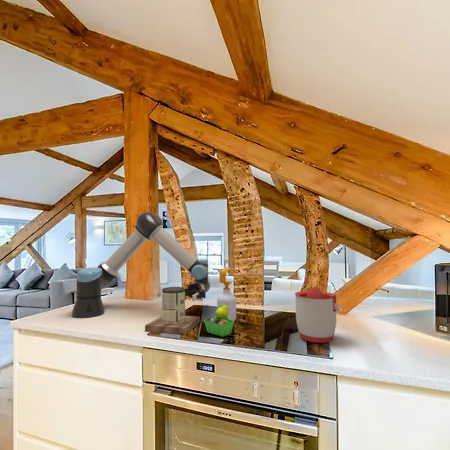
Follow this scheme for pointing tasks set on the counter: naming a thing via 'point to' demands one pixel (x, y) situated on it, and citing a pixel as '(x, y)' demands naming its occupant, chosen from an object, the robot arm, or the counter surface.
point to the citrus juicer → (316, 315)
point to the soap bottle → (227, 296)
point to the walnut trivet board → (173, 325)
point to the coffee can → (173, 305)
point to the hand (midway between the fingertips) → (179, 297)
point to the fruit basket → (220, 322)
